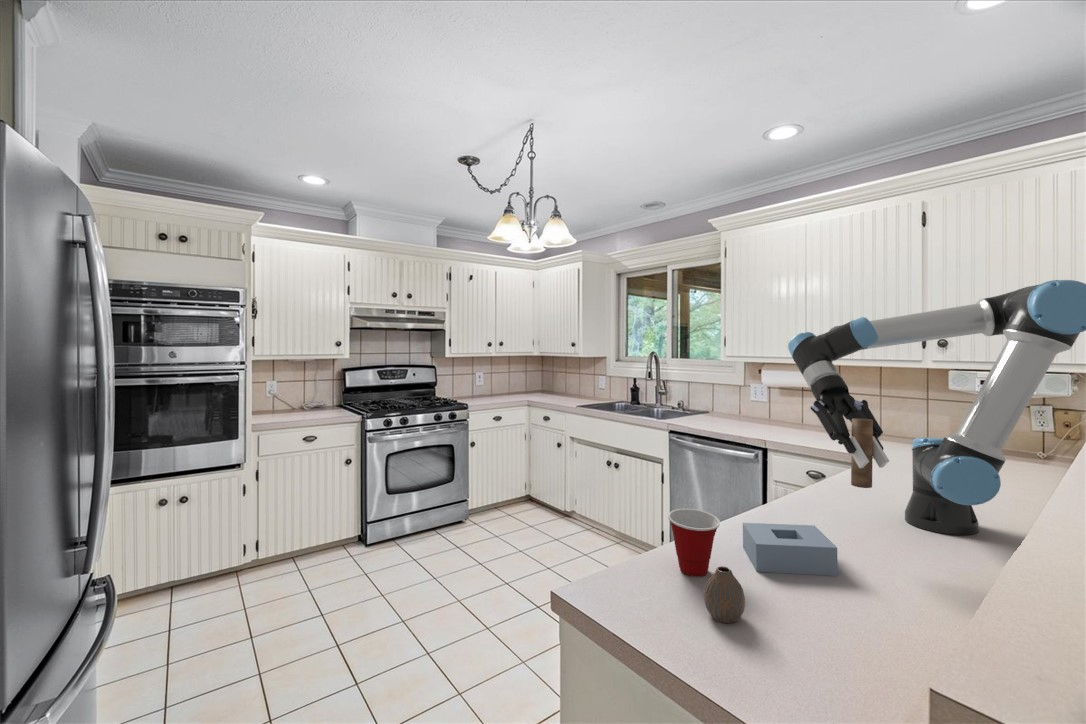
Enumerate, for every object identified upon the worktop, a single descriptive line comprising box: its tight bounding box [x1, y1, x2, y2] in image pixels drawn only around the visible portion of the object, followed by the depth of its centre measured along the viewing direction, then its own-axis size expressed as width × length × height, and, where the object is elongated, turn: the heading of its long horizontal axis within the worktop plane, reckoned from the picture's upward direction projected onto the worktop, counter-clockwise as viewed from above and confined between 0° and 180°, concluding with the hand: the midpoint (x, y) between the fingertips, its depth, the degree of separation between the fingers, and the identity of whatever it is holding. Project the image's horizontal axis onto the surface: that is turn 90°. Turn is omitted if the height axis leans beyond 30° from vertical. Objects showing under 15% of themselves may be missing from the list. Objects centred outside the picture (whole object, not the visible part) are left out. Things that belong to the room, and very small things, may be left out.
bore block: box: [742, 522, 839, 577], centre depth 110 cm, size 16×13×6 cm
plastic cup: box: [667, 508, 721, 578], centre depth 106 cm, size 11×11×12 cm
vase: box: [703, 565, 746, 624], centre depth 88 cm, size 7×7×9 cm
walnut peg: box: [850, 418, 874, 489], centre depth 110 cm, size 4×4×15 cm
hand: (874, 464), depth 107 cm, fingers closed on walnut peg, 4 cm apart
